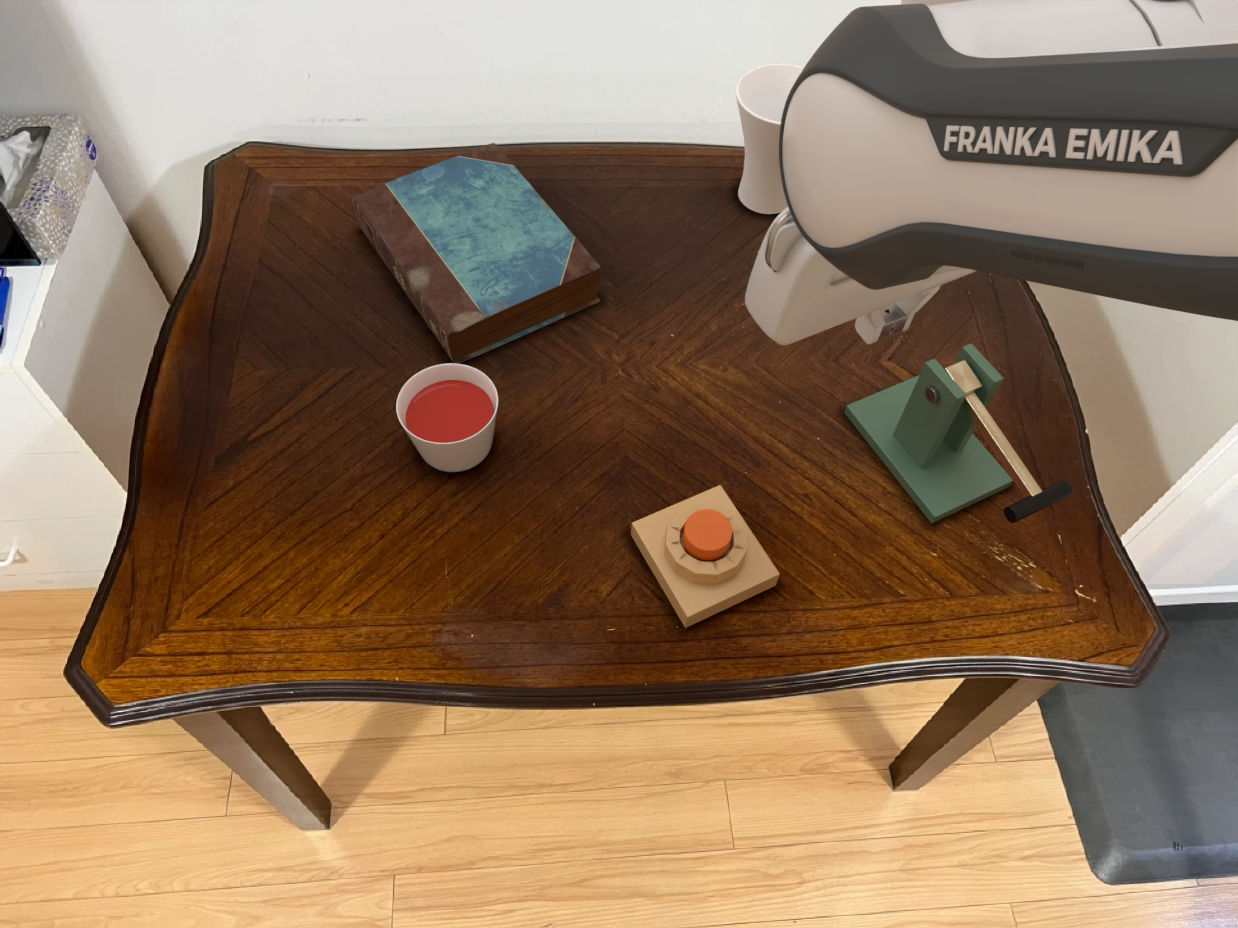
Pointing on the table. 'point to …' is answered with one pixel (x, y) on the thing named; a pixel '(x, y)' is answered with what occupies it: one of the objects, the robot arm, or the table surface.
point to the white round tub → (449, 415)
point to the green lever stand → (933, 437)
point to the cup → (763, 134)
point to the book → (477, 251)
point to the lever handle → (1005, 451)
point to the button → (707, 534)
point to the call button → (703, 582)
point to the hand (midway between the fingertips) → (880, 330)
